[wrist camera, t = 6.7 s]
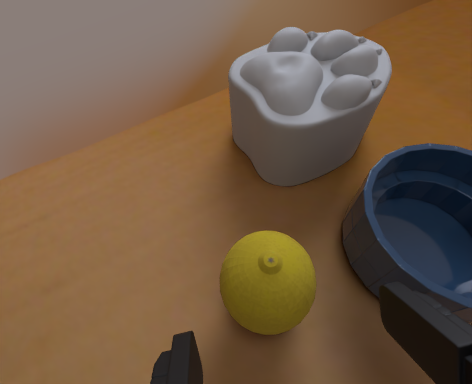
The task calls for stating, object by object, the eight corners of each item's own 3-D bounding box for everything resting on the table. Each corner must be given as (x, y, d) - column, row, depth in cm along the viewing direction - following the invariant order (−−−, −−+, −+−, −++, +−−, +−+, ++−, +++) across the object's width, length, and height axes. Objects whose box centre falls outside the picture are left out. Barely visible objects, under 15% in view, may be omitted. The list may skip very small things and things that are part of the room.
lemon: (212, 318, 19) (190, 291, 12) (243, 248, 22) (240, 193, 15) (289, 356, 18) (313, 349, 11) (313, 276, 20) (343, 230, 13)
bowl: (372, 338, 18) (415, 328, 13) (322, 195, 24) (340, 154, 19) (535, 313, 18) (632, 295, 14) (445, 179, 24) (492, 134, 19)
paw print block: (222, 125, 29) (212, 44, 22) (321, 83, 32) (343, -1, 24) (276, 198, 24) (288, 124, 16) (389, 141, 27) (441, 56, 19)
